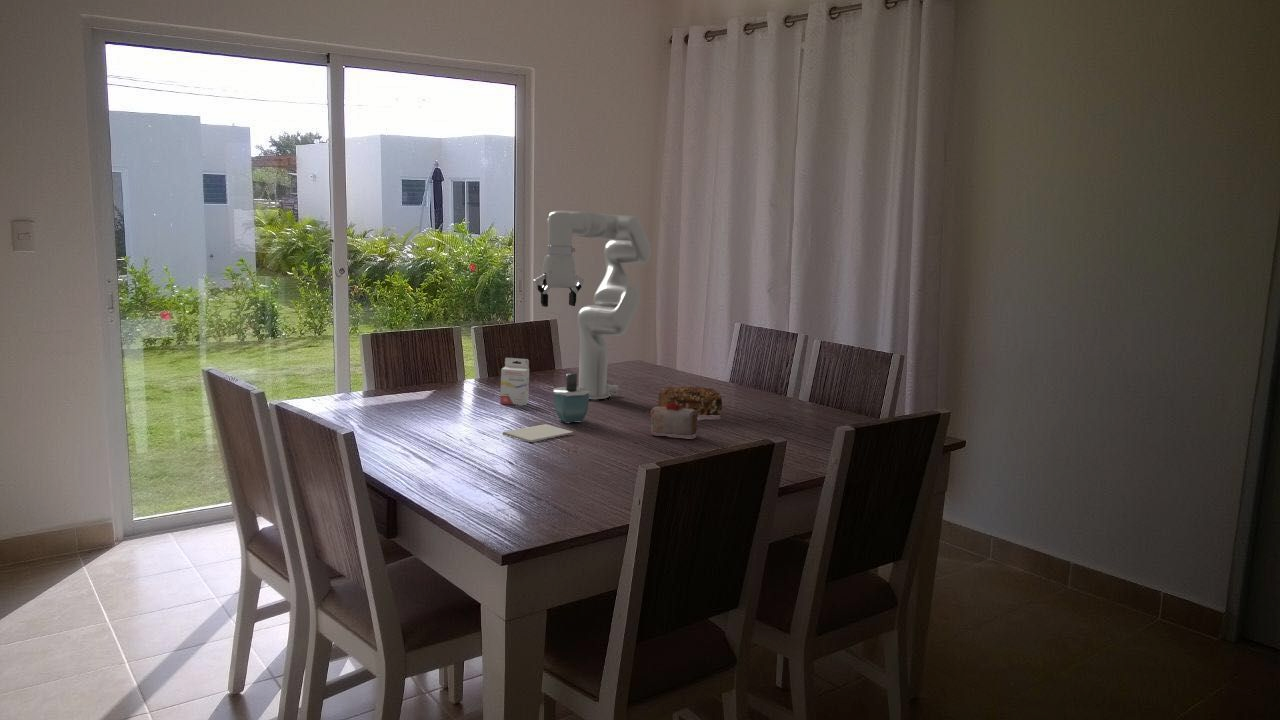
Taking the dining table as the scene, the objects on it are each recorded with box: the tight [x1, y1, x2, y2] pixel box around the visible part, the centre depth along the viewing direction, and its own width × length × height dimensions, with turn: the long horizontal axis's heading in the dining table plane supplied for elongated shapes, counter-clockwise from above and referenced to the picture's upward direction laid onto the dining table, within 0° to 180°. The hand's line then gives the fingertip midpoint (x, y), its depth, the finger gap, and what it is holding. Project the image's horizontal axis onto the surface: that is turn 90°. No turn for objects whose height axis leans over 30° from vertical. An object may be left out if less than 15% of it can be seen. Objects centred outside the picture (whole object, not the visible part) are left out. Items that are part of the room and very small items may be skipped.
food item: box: [650, 402, 698, 435], centre depth 268 cm, size 14×8×10 cm, turn 73°
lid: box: [552, 372, 590, 397], centre depth 280 cm, size 11×11×6 cm
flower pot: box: [552, 392, 590, 423], centre depth 281 cm, size 9×9×9 cm
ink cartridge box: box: [499, 357, 530, 406], centre depth 303 cm, size 9×5×15 cm, turn 84°
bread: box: [657, 386, 723, 415], centre depth 294 cm, size 19×11×10 cm, turn 101°
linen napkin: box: [502, 423, 574, 443], centre depth 264 cm, size 16×12×1 cm
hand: (558, 305), depth 294 cm, fingers open, 9 cm apart
